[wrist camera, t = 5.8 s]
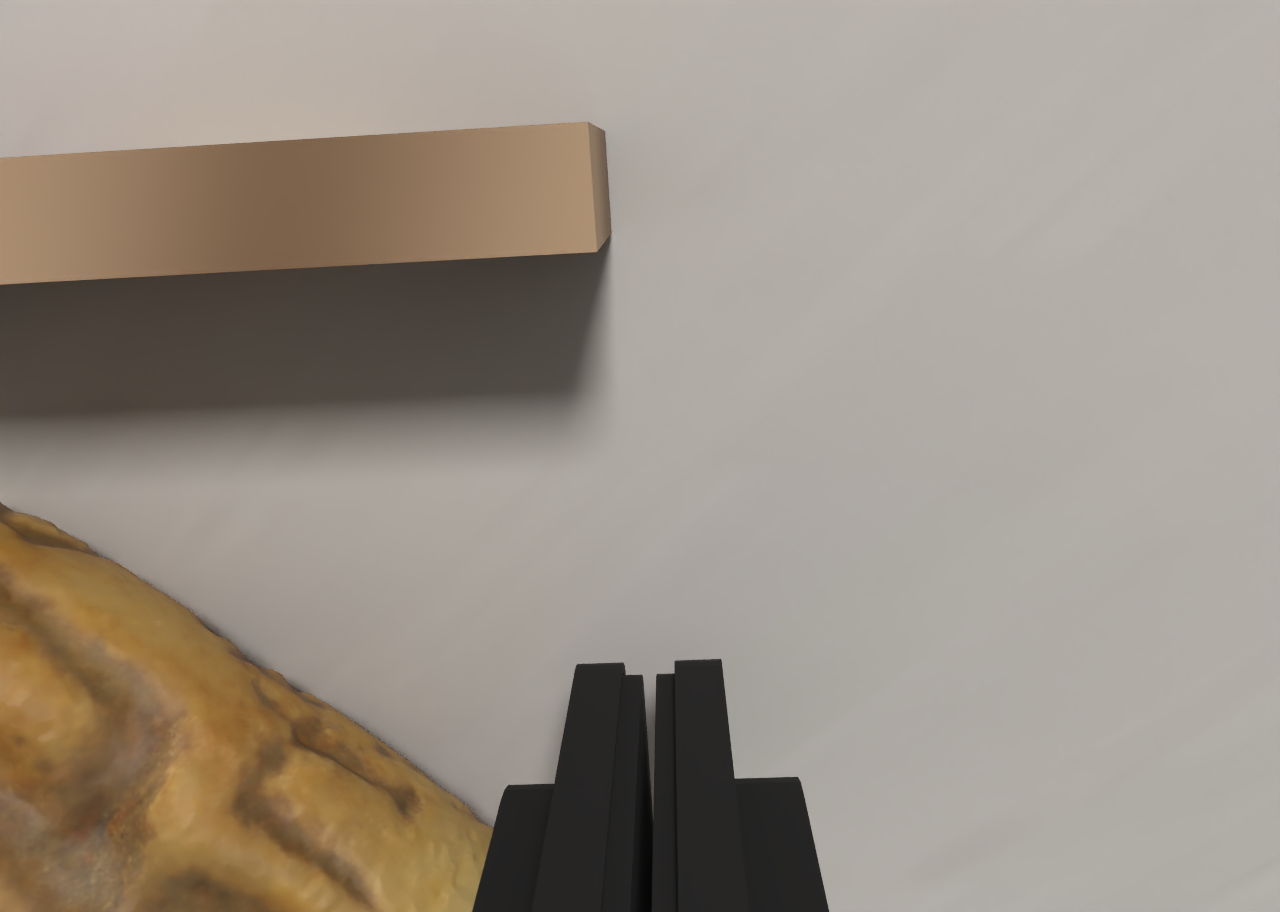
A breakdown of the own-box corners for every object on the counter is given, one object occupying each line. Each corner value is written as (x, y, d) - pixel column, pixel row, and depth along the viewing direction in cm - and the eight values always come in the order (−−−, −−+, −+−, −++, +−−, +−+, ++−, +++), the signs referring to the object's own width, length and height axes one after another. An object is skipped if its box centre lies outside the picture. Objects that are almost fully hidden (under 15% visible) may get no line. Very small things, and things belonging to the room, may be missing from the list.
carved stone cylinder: (-126, 650, 11) (-551, 918, 7) (10, 411, 10) (-413, 578, 6) (404, 959, 12) (290, 1311, 9) (576, 787, 11) (531, 1107, 7)
